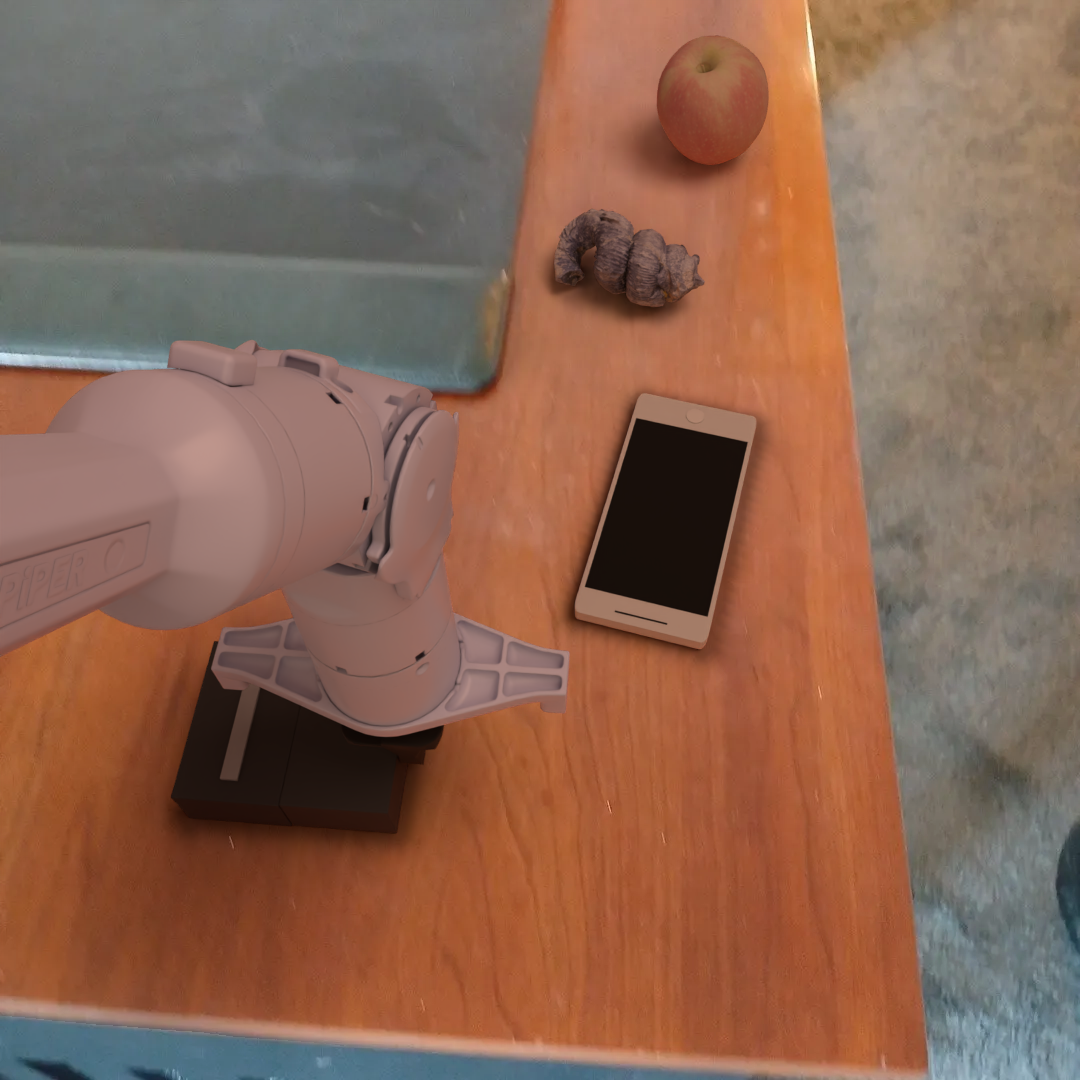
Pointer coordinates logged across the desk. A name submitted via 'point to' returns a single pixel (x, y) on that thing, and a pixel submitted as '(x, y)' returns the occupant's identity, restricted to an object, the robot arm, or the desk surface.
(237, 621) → the desk surface
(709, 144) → the apple
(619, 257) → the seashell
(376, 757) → the pad
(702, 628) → the smartphone
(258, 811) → the pad
